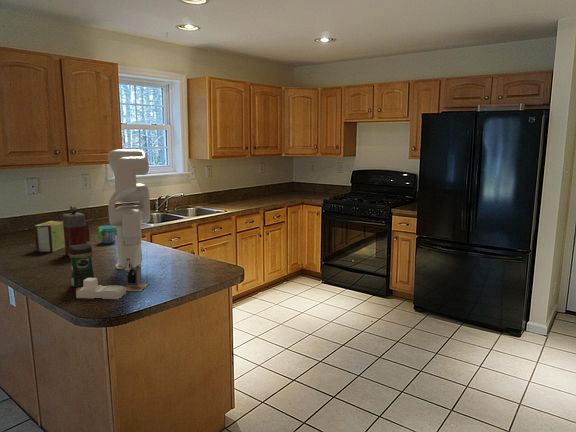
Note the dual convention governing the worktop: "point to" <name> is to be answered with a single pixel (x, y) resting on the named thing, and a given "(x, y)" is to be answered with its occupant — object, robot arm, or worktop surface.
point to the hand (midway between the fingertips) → (134, 280)
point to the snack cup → (107, 234)
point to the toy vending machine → (75, 229)
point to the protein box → (49, 236)
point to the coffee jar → (80, 264)
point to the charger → (138, 277)
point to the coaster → (136, 287)
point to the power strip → (99, 290)
